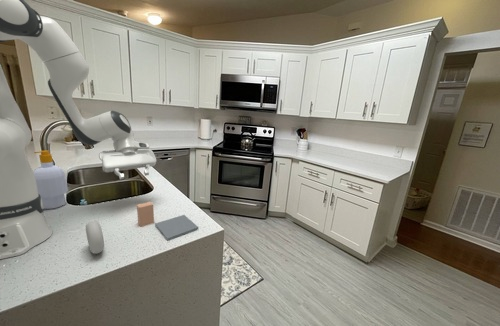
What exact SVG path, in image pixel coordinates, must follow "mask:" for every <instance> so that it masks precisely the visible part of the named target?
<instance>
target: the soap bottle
mask: <svg viewBox="0 0 500 326" xmlns="http://www.w3.org/2000/svg"><path fill="white" fill-rule="evenodd" d="M33 154H39V161H40V167H37V168H36V169H34V170H33V171H34V174H35V179H36V185H37V190H38V194H40V196H41V198H42V203H43V209H46V210H49V209H58V208H60V207H63V206H64V205H65V204H66V203H67V202H66V196H65V194H67V193H68V192H69V188H68V183H67V176H66V172H65V170H64V169H63V168H62V167H60V166H57V165H54V161H53V156H52V154H51V153H50V150H48V149H47V150H41V151H40V150H39V151H33ZM62 205H63V206H62Z"/></svg>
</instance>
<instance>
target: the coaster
mask: <svg viewBox="0 0 500 326" xmlns="http://www.w3.org/2000/svg"><path fill="white" fill-rule="evenodd" d="M154 226H155V228H156V229H157V230H158V232H160V234H161V235H162V236H163V238H164V239H165V240H166V241H167V242H168V241H171V240H174V239H176V238H179V237H182V236H184V235H187V234H191V233H192V232H196V231H198V230H199V226H197V224H196V223H194V222H193V221H192V220H191V219H190V218H189V217H187V216H186V215H185V214H182V215H179V216H175V217H172V218H168V219H166V220H163V221H159V222H156V223H155V222H154ZM197 229H198V230H197Z"/></svg>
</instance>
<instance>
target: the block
mask: <svg viewBox="0 0 500 326" xmlns="http://www.w3.org/2000/svg"><path fill="white" fill-rule="evenodd" d="M136 210H137V211H136V212H137V213H136V214H137V224H138V225H139V227H140V228H142V227H144V226H148V225H151V224H155V214H154V211H155V210H154V203H153V202H152V201H148V202H143V203H138V204H136Z"/></svg>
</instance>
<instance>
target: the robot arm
mask: <svg viewBox="0 0 500 326" xmlns="http://www.w3.org/2000/svg"><path fill="white" fill-rule="evenodd" d="M9 40H10V41H13V40H19V41H21V42H23V43H25V44H26V45H28V46H29V47H30V48H31V49H32V50H33V51H34V52H35V53H36V54H37V56H38V57H39V59H40V60H41V62H43V63H44V65H45V67H46V69H47V71H48V73H49V74H48V75H49V79H48V81H47V85H48V88H49V91H50V93H51V95H52V96H53V98H54V101H56V103H57V105H58V107H59V108H60V110H61V111H62V113H63V116H64V117H65V118H66V120H67V122H68V124H69V125H70V128H71V129H72V132H73V134H74V136H75V137H76V139H77V140H78V141H79V143H81V144H83V145H88V146H95V145H97V144H99V143H101V142H103V141H105V140H108V139H110V138H111V140H112V141H113V145H112V146H113V149H114V150H113V149H112V150H103V151H102V152H100V153H99V154H98V158H99V160H100V161H101V167H102V171H103V172H105V173H112V172H114V174H115V175H116V176H117V177H119V180H124V179H125V174H124V173H121V172H120V171H127V170H134V169H141V168H144V169H145V170H144V171H143V174H144V176H149V175H150V171H149V170H150V167H155V165H156V164H157V161H158V160H157V158H156V155H155V153H154V151H153V150H152V149H151V148H150V145H149V143H146V142H145V143H144V142H140V141H136V139H135V137H134V132H133V129H132V126H131V124H130V122H129V119H128V118H127V117H126V116H125V115H124V114H122V112H121V113H120V112H119V111H115V110H110V111H106V112H103V113H100V114H98V115H95V116H92V117H90V118H85V117H83V116H82V114H81V111H80V110H79V108H78V106H77V105H76V103H75V101H74V99H73V93H74V92H75V90H76V89H77V88H78V87H80V86H81V85H82V83H84V82H85V80H86V79H87V78H88V76H89V71H90V70H89V68H90V67H89V65H88V62H87V61H86V59H85V57H84V56H83V54H82V52H81V51H80V50H79V48H78V46H77V45H76V44H75V41H73V40H72V39H71V37H70V36H69V35H68V33H67V32H66V30H65V29H63V28H62V26H61V25H60V24H59V23H58V22H57V21H56V20H54V19H53V18H51V17H47V16H43V15H40V14H39V12H38V11H36V10H35V9H33V8H32V7H31V6H30V5H29V4H28V3H27V2H26V1H25V0H0V43H3V42H7V41H9ZM32 138H33V136H32V131H31V129H30V127H29V124H28V122H27V121H26V118H25V116H24V114H23V113H22V111H21V109H20V106H19V105H18V103H17V102H16V100H15V97H14V95H13V93H12V92H11V89H10V86H9V84H8V80H7V78H6V75H5V73H4V70H3V67H2V65H1V63H0V260H2V259H7V258H12V257H16V256H17V257H18V256H21V255H23V254H25V253H27V252H28V251H29V250H31V249H32V248H33V247H36V246H38V245H40V244H41V243H43V242H44V241H45V242H46V240H48V239H49V238H50V237H51V236H52V234H53V230H52V228H51V226H50V225H49V223H48V221H47V219H46V217H45V215H44V208H43V203H42V198H41V196H40V194H38V190H37V185H36V179H35V174H34V170H33V168H32V166H31V164H30V162H29V159H28V156H27V153H26V147H27V146H29V145H30V143H31V142H32V141H31V140H32Z"/></svg>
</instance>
